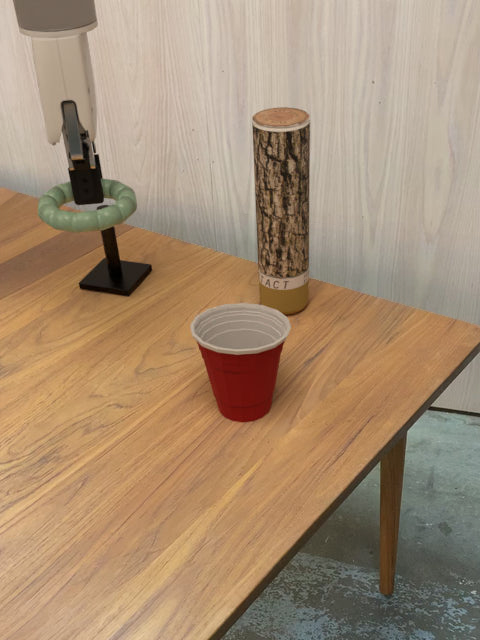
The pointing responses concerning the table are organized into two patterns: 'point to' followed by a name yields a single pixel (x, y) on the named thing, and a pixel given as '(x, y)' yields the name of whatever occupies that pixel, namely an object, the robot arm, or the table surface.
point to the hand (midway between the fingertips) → (89, 196)
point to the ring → (89, 219)
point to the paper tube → (282, 206)
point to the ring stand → (114, 269)
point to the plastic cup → (241, 356)
